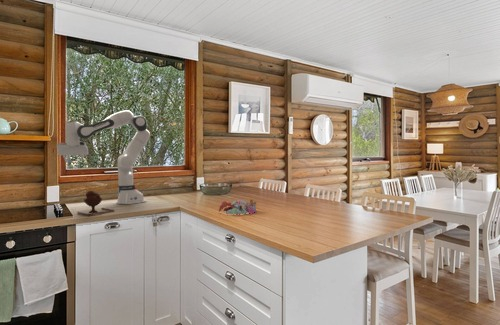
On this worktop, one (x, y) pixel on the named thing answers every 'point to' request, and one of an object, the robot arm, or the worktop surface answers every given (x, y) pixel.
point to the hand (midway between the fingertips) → (73, 161)
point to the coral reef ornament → (238, 207)
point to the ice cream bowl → (92, 200)
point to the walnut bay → (97, 213)
